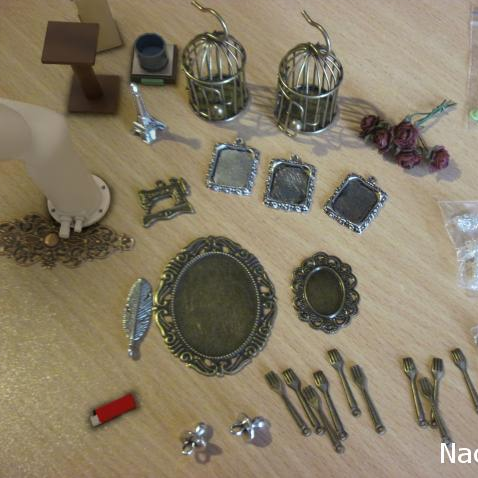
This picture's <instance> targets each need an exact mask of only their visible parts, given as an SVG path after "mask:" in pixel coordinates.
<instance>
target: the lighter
mask: <svg viewBox="0 0 478 478" xmlns="http://www.w3.org/2000/svg"><path fill="white" fill-rule="evenodd" d="M136 407H137V405H136V402H135V399H134V397H133V394H132V393H131V392H130V393H128V394H126V395H124V396H121V397H119V398H117V399H115V400H113V401H111V402H109V403H106V404H104V405H102V406H100V407H98V408H96V409H93V410H92V415H91V416H90V417H89V419H90V421H91V424H92V426H93V427H96V426H98V425H101V424H103V423H105V422H108V421H109V420H111V419H114V418H115V417H118V416H120V415H122V414H124V413H126V412H128V411H131V410H133V409H135V408H136Z"/></svg>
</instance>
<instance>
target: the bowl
mask: <svg viewBox="0 0 478 478" xmlns="http://www.w3.org/2000/svg"><path fill="white" fill-rule="evenodd" d="M133 41H134V42H133V46H134V50H135V54H136V57H137V60H138V61H139V63H140V65H142V66H143V67H144V68H146V69H150V70H156V69H160V68H162V67H163V66H164V65H165V64H166V62H167V61H168V50H167V46H166V44H167V42H166V41H165V39H164V37H163V36H162V35H160V34H159V33H156V32H145V33H143V34H140V35H138V36H137V38H136V39H135V40H133Z"/></svg>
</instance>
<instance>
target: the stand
mask: <svg viewBox="0 0 478 478" xmlns="http://www.w3.org/2000/svg"><path fill="white" fill-rule="evenodd" d="M99 30H100V25H99V23H82V22H80V21H79V22H78V21H58V20H56V21H55V20H48V21H47V23H46V30H45V36H44V41H43V46H42V50H41V51H42V52H41V58H40V62H41V64H42V65H57V66H58V65H59V66H61V65H62V66H63V65H64V66H70V68H71V70H72V72H73V74H72V81H71V83H72V84H71V88H70V94H69V96H70V97H69V102H68V107H67V111H68V114H91V115H93V114H96V115H116V106H117V98H118V89H119V82H120V77H119V75H107V74H96V73H95V70H94V68H93V67H95V66H96V58H97V53H98V52H97V44H98V37H99Z"/></svg>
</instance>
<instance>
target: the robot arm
mask: <svg viewBox="0 0 478 478" xmlns="http://www.w3.org/2000/svg"><path fill="white" fill-rule="evenodd" d="M72 138H73V137H72V133H71V128H70V125H69V122H68V120H67V119H66V117H65V116H64V115H62V113H59V112H58V111H57V110H53V109H52V108H48V107H45V106H42V105H38V104H33V103H29V102H25V101H20V100H14V99H11V98H10V99H9V98H4V97H1V96H0V163H4V162H8V161H11V160H17V161H22V162H24V168H25V171H26V174H27V175H28V176H29V178H30V179H31V180H32V181H33V182H34V184H35V185H36V186H37V187H38V189H39V190H40V191H41V192H42V194H43V195H44V196H45V197H46V198H47V201H46V202H47V209H48V213H49V214H50V215H51V217H52V218H53V219H54V220H55V221H56V222H57V223H59V224H60V227H59V233H58V237H60V238H63V239H69V238H70V235H71V228H72V229H73V231H74V232H75V233H81V232H82V229H83V228H86V227H89V226H92V225H94V224H96V223H98V222H99V221H100V220H101V219H102V218H103V217H104V216H105V215H106V213H108V210H109V208H110V206H111V205H110V204H111V192H110V190H109V187H108V185H107V184H106V183H105V181H104V180H103V179H101V177H99V176H97V175H95V174H93V173H91V171H90V169H89V168H88V166H87V165H86V163H85V162H84V160H83V158H82V156H81V155H80V153H79V151H78V149H77V147H76V146H75V143H74V141H73V139H72Z"/></svg>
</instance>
